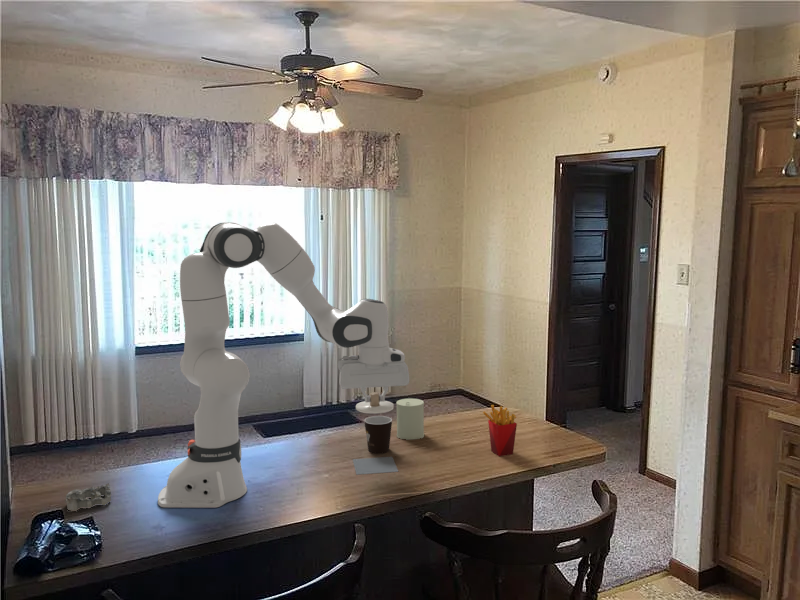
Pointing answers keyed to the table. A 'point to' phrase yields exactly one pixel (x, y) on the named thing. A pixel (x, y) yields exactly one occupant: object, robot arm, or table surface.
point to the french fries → (501, 431)
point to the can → (410, 418)
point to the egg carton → (79, 499)
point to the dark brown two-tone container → (378, 433)
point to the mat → (374, 465)
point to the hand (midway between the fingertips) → (374, 401)
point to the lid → (374, 405)
